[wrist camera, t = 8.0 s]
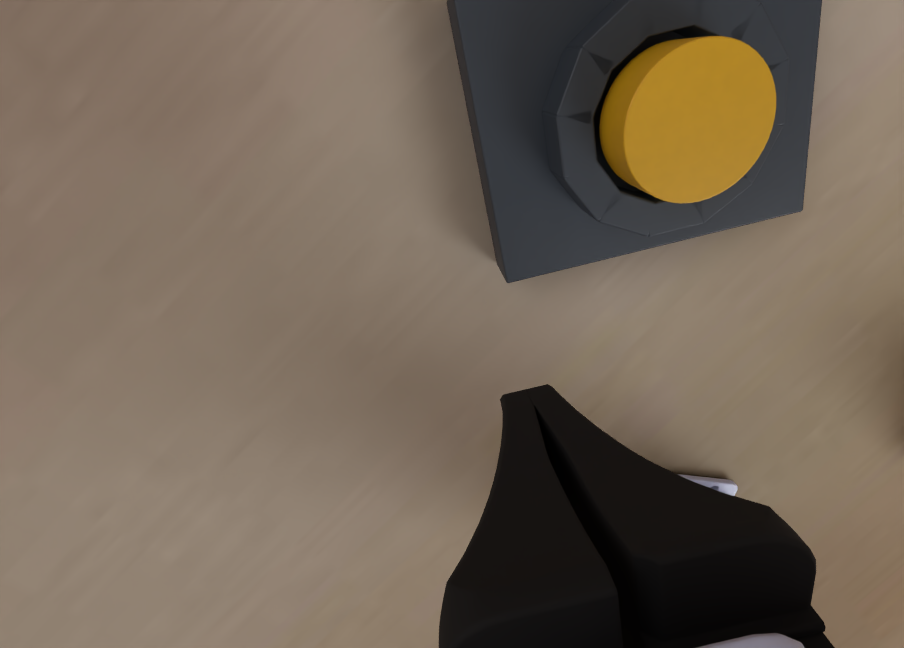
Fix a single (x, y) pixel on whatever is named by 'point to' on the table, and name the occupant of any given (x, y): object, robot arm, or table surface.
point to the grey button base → (578, 119)
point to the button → (688, 117)
